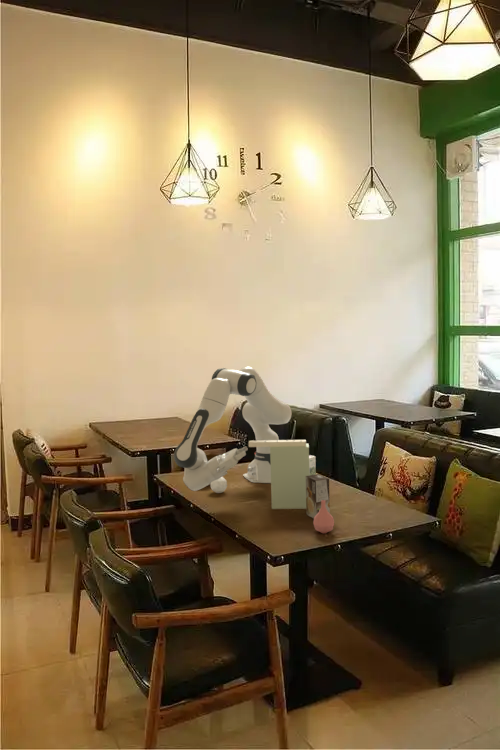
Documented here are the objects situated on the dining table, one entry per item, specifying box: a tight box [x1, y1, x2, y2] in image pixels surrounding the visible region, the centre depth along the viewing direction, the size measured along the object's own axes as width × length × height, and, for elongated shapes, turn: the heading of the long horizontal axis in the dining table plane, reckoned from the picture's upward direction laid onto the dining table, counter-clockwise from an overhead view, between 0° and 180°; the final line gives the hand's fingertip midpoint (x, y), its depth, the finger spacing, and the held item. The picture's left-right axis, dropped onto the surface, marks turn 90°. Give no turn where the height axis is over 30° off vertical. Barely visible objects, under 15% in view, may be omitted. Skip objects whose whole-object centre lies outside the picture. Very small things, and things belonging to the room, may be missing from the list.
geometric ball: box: [209, 476, 228, 494], centre depth 301 cm, size 8×8×8 cm
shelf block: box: [270, 442, 310, 510], centre depth 276 cm, size 16×8×26 cm, turn 86°
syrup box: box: [309, 454, 317, 476], centre depth 307 cm, size 6×6×14 cm
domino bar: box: [248, 439, 307, 448], centre depth 275 cm, size 24×4×2 cm, turn 86°
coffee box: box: [305, 473, 331, 519], centre depth 261 cm, size 9×6×16 cm
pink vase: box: [312, 500, 335, 534], centre depth 241 cm, size 8×8×12 cm
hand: (246, 450), depth 276 cm, fingers open, 8 cm apart
